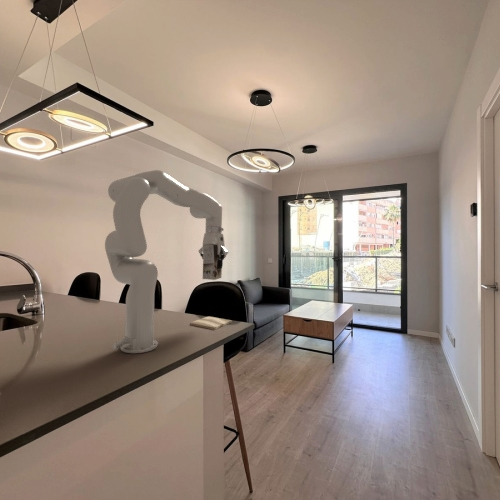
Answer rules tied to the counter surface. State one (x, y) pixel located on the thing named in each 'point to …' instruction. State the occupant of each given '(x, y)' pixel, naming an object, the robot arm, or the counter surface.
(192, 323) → the cream folded cloth
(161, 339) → the counter surface
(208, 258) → the coffee box
